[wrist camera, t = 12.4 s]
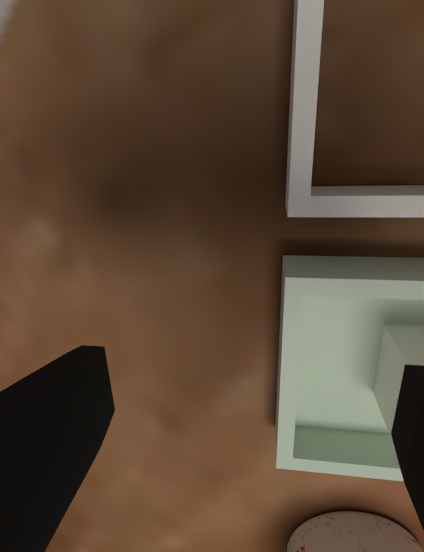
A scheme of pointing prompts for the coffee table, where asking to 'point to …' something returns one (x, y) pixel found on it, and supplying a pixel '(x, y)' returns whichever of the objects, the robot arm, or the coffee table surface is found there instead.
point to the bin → (302, 132)
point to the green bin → (339, 360)
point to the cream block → (396, 365)
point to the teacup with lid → (351, 534)
